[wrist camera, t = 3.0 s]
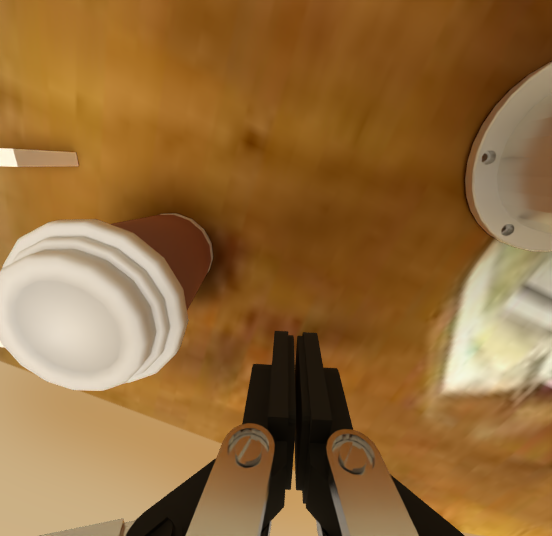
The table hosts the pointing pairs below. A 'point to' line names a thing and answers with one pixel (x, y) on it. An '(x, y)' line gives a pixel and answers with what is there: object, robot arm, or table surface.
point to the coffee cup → (101, 297)
